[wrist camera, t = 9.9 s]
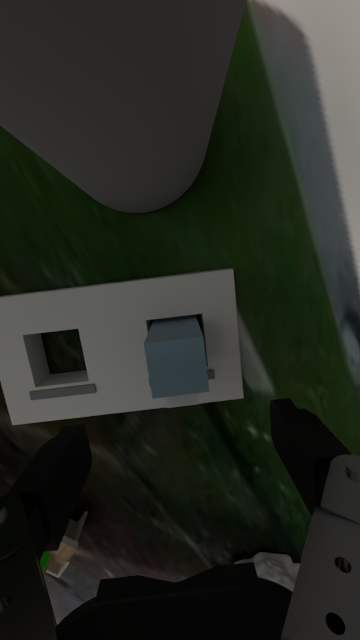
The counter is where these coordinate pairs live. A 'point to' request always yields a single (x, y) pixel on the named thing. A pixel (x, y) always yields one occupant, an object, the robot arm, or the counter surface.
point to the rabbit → (275, 568)
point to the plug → (176, 360)
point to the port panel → (113, 344)
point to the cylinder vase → (117, 90)
